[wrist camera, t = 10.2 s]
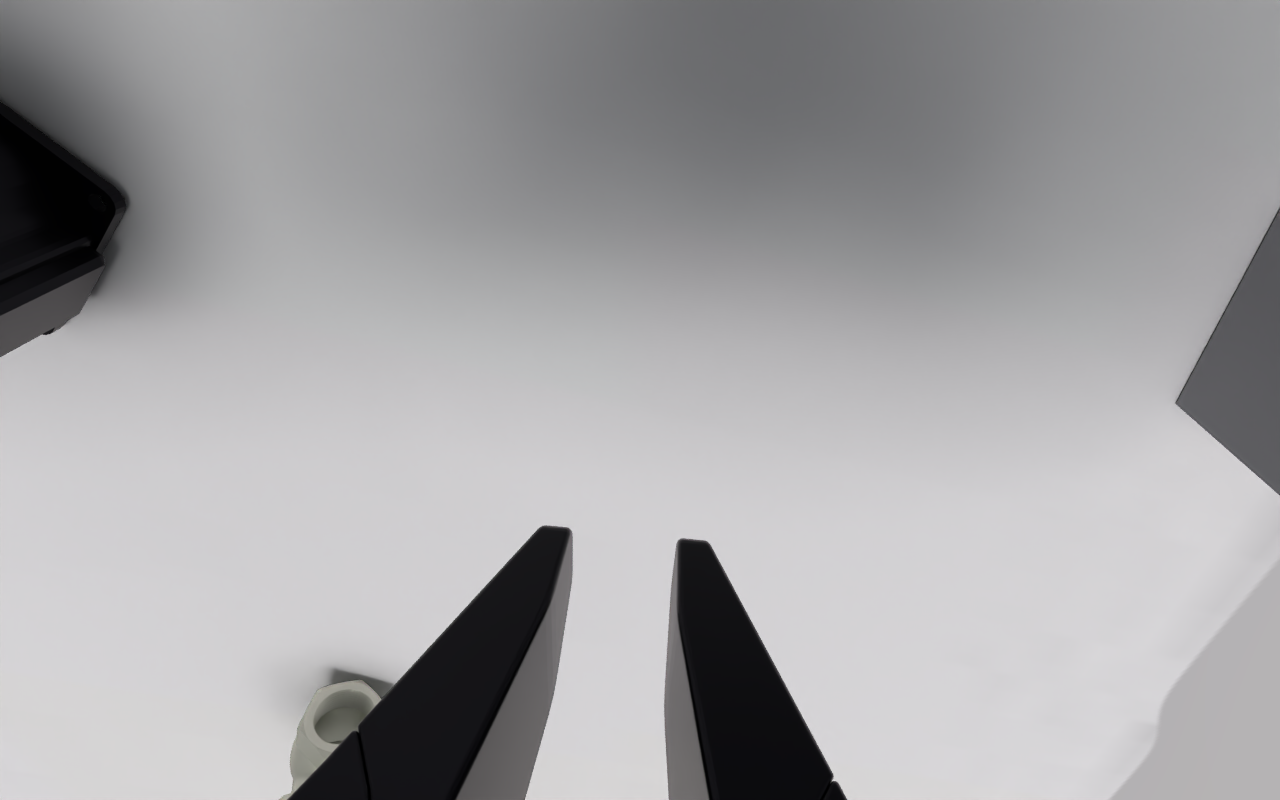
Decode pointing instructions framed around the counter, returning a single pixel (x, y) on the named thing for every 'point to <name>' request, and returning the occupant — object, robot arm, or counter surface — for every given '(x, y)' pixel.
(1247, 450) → the side door
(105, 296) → the counter surface
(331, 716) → the valve
